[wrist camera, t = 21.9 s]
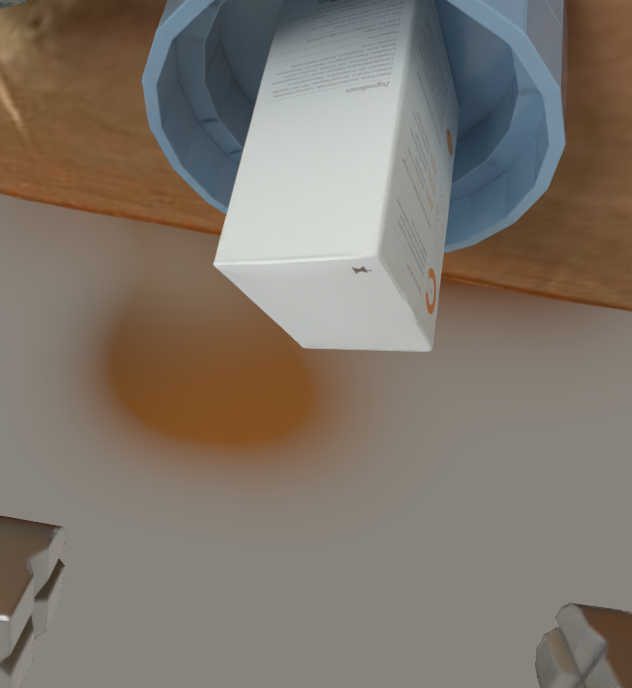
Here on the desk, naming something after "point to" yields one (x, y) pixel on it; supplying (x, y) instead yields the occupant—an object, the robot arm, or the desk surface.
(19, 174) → the desk surface
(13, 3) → the seashell
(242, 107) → the faceted blue bowl
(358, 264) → the small box
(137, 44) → the desk surface
